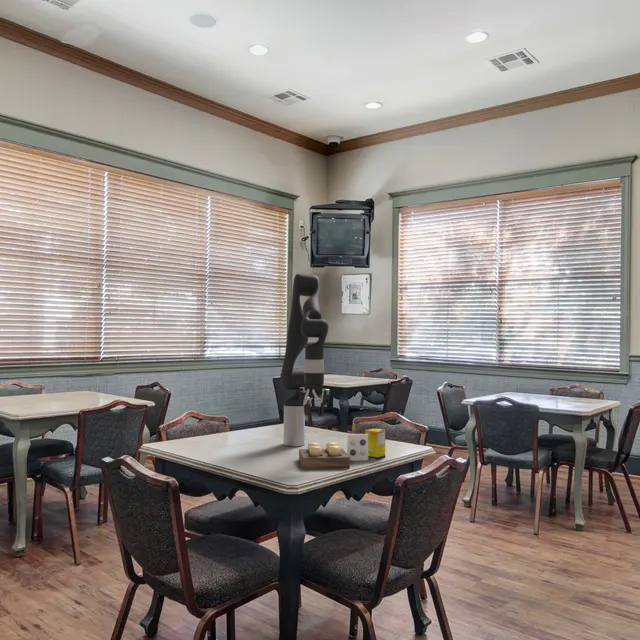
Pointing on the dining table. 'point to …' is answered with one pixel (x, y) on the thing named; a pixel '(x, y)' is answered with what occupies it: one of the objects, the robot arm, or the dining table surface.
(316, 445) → the button
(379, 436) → the supplement box
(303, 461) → the button board
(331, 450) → the button
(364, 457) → the card
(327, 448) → the button
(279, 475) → the dining table surface
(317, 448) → the button
